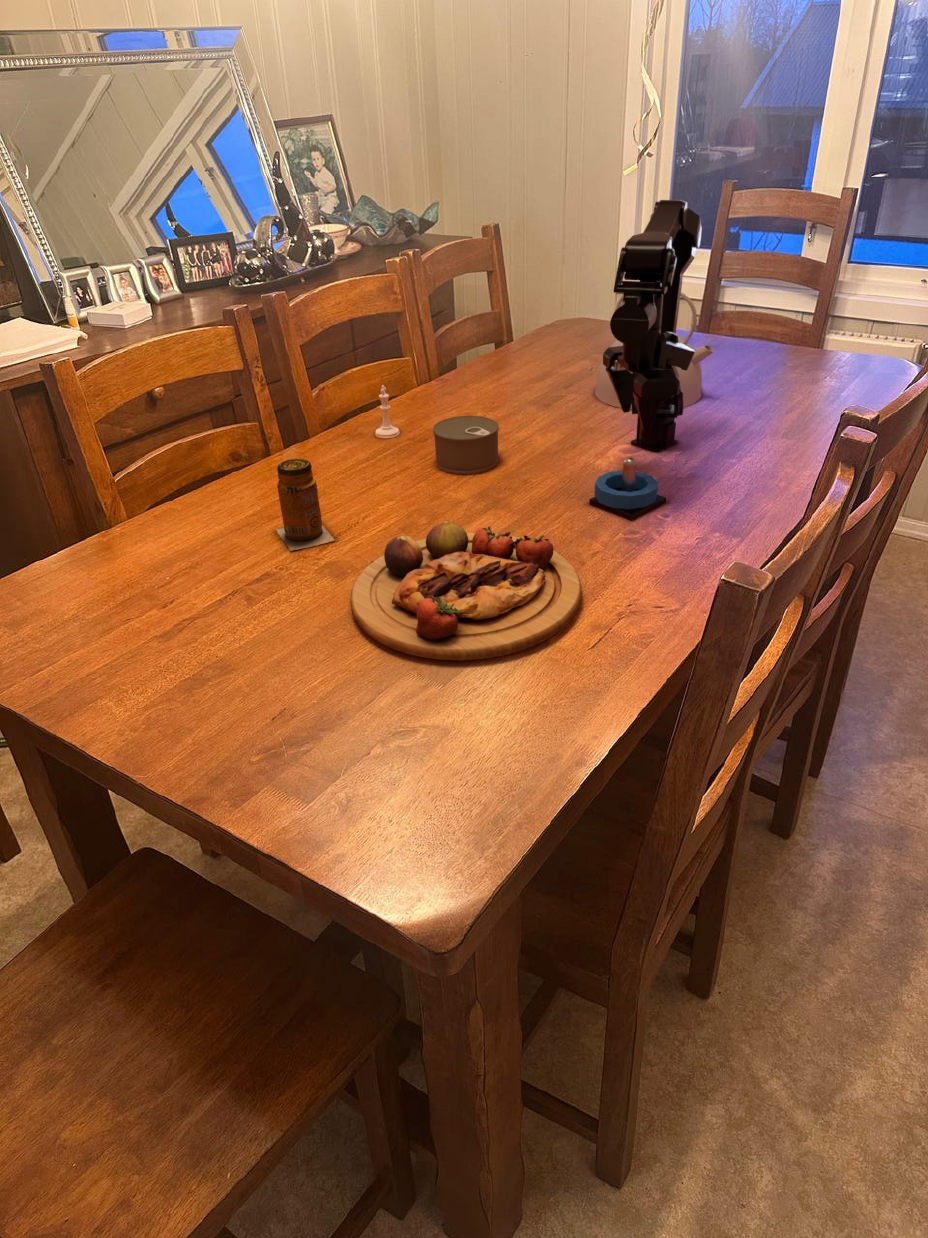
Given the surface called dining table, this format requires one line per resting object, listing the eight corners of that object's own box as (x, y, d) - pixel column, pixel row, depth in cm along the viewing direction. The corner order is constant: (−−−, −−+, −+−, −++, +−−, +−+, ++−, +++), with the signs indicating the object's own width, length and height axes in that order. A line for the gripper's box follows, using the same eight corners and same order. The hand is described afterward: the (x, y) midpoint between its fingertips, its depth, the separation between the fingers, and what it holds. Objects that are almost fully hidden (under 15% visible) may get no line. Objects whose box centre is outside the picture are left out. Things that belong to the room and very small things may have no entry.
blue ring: (582, 496, 145) (583, 483, 144) (621, 478, 151) (622, 465, 150) (630, 514, 139) (631, 501, 138) (668, 495, 144) (669, 481, 143)
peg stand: (589, 504, 145) (590, 458, 141) (623, 487, 150) (626, 443, 146) (631, 520, 139) (635, 473, 135) (666, 503, 144) (670, 457, 140)
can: (467, 445, 170) (465, 410, 166) (512, 460, 162) (512, 424, 158) (422, 463, 163) (419, 428, 159) (467, 480, 155) (465, 444, 152)
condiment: (318, 520, 144) (308, 452, 138) (335, 541, 138) (325, 470, 131) (275, 531, 142) (263, 462, 135) (290, 552, 135) (278, 481, 129)
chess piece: (371, 436, 176) (366, 388, 170) (382, 428, 179) (377, 380, 174) (393, 439, 174) (388, 390, 168) (403, 430, 178) (399, 382, 172)
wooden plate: (509, 694, 103) (508, 636, 98) (303, 624, 118) (294, 571, 113) (618, 574, 125) (621, 522, 121) (434, 528, 140) (431, 480, 136)
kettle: (725, 386, 192) (739, 279, 180) (689, 418, 176) (701, 303, 164) (620, 372, 204) (626, 270, 192) (577, 401, 188) (581, 292, 176)
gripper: (716, 336, 130) (705, 435, 138) (667, 306, 145) (660, 397, 154) (646, 344, 128) (639, 444, 137) (603, 313, 143) (599, 404, 152)
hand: (636, 421), depth 145 cm, fingers open, 9 cm apart
